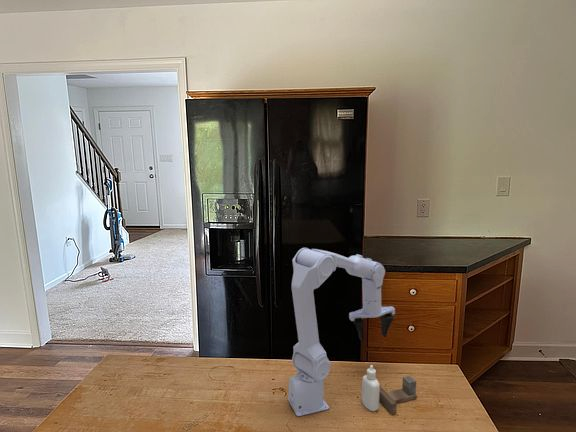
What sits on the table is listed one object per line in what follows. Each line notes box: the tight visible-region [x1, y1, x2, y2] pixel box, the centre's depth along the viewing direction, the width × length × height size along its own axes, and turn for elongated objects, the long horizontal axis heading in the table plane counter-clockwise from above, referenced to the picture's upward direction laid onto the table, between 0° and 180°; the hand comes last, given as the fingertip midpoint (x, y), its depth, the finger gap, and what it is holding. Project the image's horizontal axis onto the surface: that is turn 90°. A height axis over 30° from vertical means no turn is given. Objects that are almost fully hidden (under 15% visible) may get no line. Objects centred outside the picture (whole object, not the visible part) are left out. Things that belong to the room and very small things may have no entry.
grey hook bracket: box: [379, 375, 418, 415], centre depth 110 cm, size 11×11×5 cm
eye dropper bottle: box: [361, 364, 381, 412], centre depth 107 cm, size 4×6×12 cm
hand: (372, 337), depth 123 cm, fingers open, 7 cm apart
